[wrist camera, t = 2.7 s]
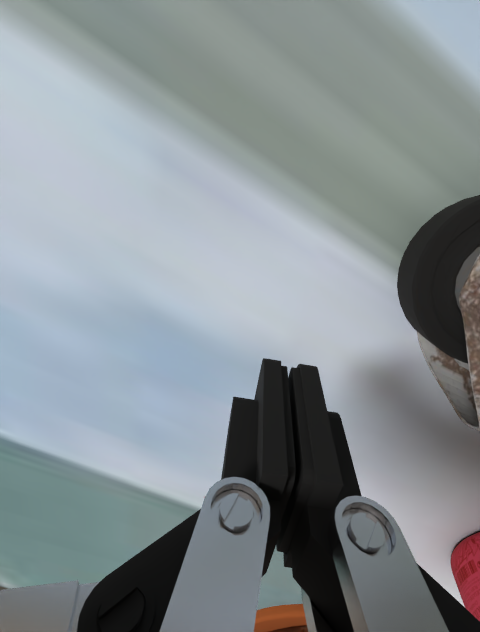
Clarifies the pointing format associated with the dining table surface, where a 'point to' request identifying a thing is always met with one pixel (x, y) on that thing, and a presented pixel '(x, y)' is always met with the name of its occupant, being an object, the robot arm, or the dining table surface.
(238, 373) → the dining table surface
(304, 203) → the dining table surface
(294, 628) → the pumpkin
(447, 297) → the caster wheel
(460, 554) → the wine bottle
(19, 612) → the robot arm
